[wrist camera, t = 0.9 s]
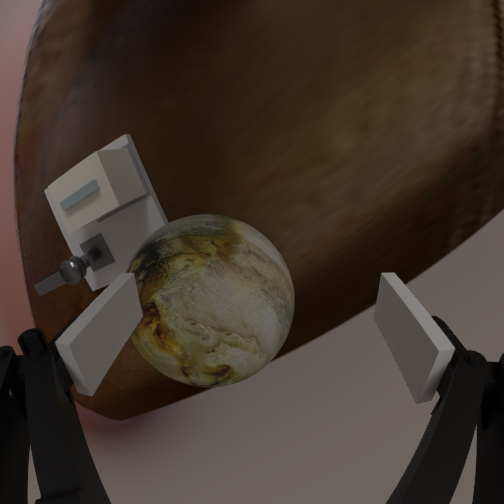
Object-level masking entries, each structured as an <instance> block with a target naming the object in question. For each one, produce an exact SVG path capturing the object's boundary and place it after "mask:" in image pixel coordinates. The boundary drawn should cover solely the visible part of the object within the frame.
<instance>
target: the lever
mask: <svg viewBox="0 0 504 504" xmlns="http://www.w3.org/2000/svg"><path fill="white" fill-rule="evenodd" d="M100 257H101V253H100V251H99V249H97V248H92V249H91V250H89V251H88V252H86V253H85V254H83V255H82V256H81V257H77V256H71V257H70V258H68V259H67V260H65V261H64V262H62V263H61V265H60V269H59V270H57V271H55V272H53V273H52V274H50V275H48V276H46V277H45V278H43V279H41V280H40V281H38V282H37V283H36V284H34V287H35V289H36V291H37V293H38V294H39V296H41V295H43V294H45V293H47V292H49V291H51V290H53V289H55V288H57V287H59V286H61V285H63V284H65V283H67V284H69V285H72V286H74V285H76V284H78V283H79V282H80V281H81V280H82V279H84V278H85V276H86V274H87V268H88V267H90V266H91V265H92V264H93V263H95V262H96V261H97V260H98V259H100Z"/></svg>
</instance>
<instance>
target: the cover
mask: <svg viewBox="0 0 504 504" xmlns="http://www.w3.org/2000/svg"><path fill="white" fill-rule="evenodd" d="M48 188H49V190H50V193H51V195H52V198H53V200H54V202H55V205H56V207H57V210H58V212H59V214H60V216H61V219H62V221H63V223H64V225H65V228H66V230H67V232H68V234H69V235H70V234H72V233H74V232H75V231H77V230H79V229H81V228H83V227H85V226H86V225H88V224H90V223H92V222H94V221H96V220H98V219H100V218H101V217H103V216H105V215H107V214H109V213H110V212H112V211H114V210H116V209H118V208H119V207H121V206H123V205H125V204H127V203H129V202H131V201H133V200H135V199H136V198H138V197H140V196H142V195H144V194H146V192H145V189H144V187H143V185H142V183H141V180H140V178H139V176H138V174H137V171H136V169H135V167H134V164H133V162H132V159H131V157H130V155H129V152H128V150H127V148H124V149H113V150H102V151H96V152H94V153H93V154H91V155H90V156H89V157H87V158H86V159H84V160H83V161H81V162H80V163H79V164H77V165H76V166H74V167H73V168H72V169H70V170H69V171H68V172H66V173H65V174H64V175H62V176H61V177H60V178H58V179H57V180H56V181H54V182H53V183H52V184H51V185H49V186H48Z"/></svg>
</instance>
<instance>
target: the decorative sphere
mask: <svg viewBox="0 0 504 504" xmlns="http://www.w3.org/2000/svg"><path fill="white" fill-rule="evenodd" d="M126 273H134V275H135V281H136V286H137V291H138V296H139V301H140V305H141V310H142V314H143V317H142V319H141V320H140V322H139V323H138V325H137V326H136V328H135V329H134V331H133V332H132V334H131V335H130V338H131V340H132V342H133V344H134V346H135V347H136V349H137V350H138V351H139V353H140V354H141V355H142V357H143V358H144V359H145V360H146V361H147V362H148V363H149V364H150V365H151V366H152V367H154V368H155V369H156V370H158V371H159V372H160V373H162V374H164V375H165V376H167V377H169V378H171V379H173V380H175V381H178V382H181V383H184V384H187V385H192V386H198V387H220V386H226V385H230V384H234V383H237V382H240V381H242V380H245V379H247V378H249V377H250V376H252V375H254V374H256V373H257V372H258V371H260V370H261V369H262V368H264V367H265V366H266V365H267V364H268V363H269V362H270V361H271V360H272V359H273V358H274V357H275V355H276V354H277V353H278V352H279V350H280V349H281V347H282V345H283V343H284V342H285V340H286V338H287V335H288V333H289V330H290V327H291V324H292V320H293V314H294V289H293V284H292V280H291V276H290V273H289V270H288V268H287V265H286V263H285V261H284V260H283V258H282V256H281V255H280V253H279V252H278V250H277V249H276V247H275V246H274V245H273V244H272V243H271V242H270V241H269V240H268V239H267V238H266V237H265V236H264V235H263V234H261V233H260V232H259V231H257V230H256V229H255V228H253V227H251V226H250V225H248V224H246V223H244V222H242V221H239V220H237V219H234V218H230V217H227V216H221V215H212V214H199V215H192V216H187V217H183V218H180V219H178V220H175V221H172V222H170V223H168V224H166V225H164V226H163V227H161V228H160V229H158V230H157V231H155V232H154V233H153V234H152V235H150V236H149V237H148V238H147V239H146V240H145V241H144V242H143V243H142V245H141V246H140V247H139V248H138V250H137V251H136V253H135V254H134V256H133V258H132V259H131V261H130V263H129V266H128V268H127V271H126Z"/></svg>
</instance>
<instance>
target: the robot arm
mask: <svg viewBox="0 0 504 504" xmlns="http://www.w3.org/2000/svg"><path fill="white" fill-rule="evenodd" d="M142 317H143V314H142V310H141V305H140V301H139V296H138V291H137V286H136V281H135V275H134V273H121V274H120V275H119V276H118V277H117V278H116V279H115V280H114V281H113V282H112V283H111V284H110V285H109V286H108V287H107V288H106V289H105V290H104V291H103V292H102V293H101V294H100V295H99V296H98V297H97V298H96V299H95V300H94V301H93V302H92V303H91V304H90V305H89V306H88V307H87V308H86V309H85V310H84V312H83V313H82V314H79V315H77V316H75V317H74V318H72V319H71V320H70V321H69V322H68V323H67V324H66V326H64V327H63V328H62V329H61V331H59V333H58V334H57V335H56V336H55V337H54V338H53V339H52V340H51V341H50V342H49V343H48V342H47V340H46V337H45V335H44V332H43V330H42V329H40V328H32V329H29V330H26V331H25V332H23V333H22V334H21V335H20V336H19V337H18V340H17V341H18V343H19V345H20V348H21V350H22V352H23V354H24V355H16V354H15V352H14V350H13V347H11V346H2V347H0V504H28V501H27V500H28V497H27V496H28V494H27V492H28V486H27V485H28V464H29V450H30V444H31V450H32V456H33V462H34V467H35V472H36V476H37V480H38V485H39V489H40V493H41V498H40V499H37V500H36V501H35V504H111V502H110V500H109V498H108V496H107V493H106V491H105V489H104V487H103V485H102V482H101V480H100V477H99V475H98V472H97V470H96V467H95V465H94V462H93V459H92V457H91V454H90V451H89V448H88V446H87V443H86V440H85V437H84V433H83V430H82V427H81V424H80V420H79V417H78V413H77V410H76V406H75V402H74V398H73V394H72V392H71V391H70V387H71V386H72V384H73V383H74V385H75V387H76V389H77V391H78V393H81V394H85V395H89V396H93V394H94V393H95V391H96V389H97V388H98V386H99V384H100V383H101V381H102V379H103V378H104V376H105V375H106V373H107V371H108V370H109V368H110V366H111V365H112V363H113V362H114V360H115V359H116V357H117V355H118V354H119V352H120V351H121V349H122V348H123V346H124V344H125V343H126V341H127V340H128V338H129V337H130V335H131V334H132V332H133V331H134V329H135V328H136V326H137V325H138V323H139V322H140V320H141V319H142ZM374 320H375V322H376V324H377V325H378V327H379V329H380V331H381V333H382V335H383V337H384V339H385V341H386V343H387V345H388V347H389V349H390V350H391V353H392V354H393V357H394V359H395V361H396V363H397V365H398V367H399V369H400V371H401V373H402V375H403V377H404V379H405V381H406V383H407V386H408V388H409V390H410V392H411V394H412V396H413V398H414V401H415V403H416V404H418V403H423V402H427V401H431V400H432V398H433V396H434V394H435V392H436V390H437V392H438V393H439V395H440V398H439V400H438V402H437V404H436V405H435V407H434V409H433V411H432V413H431V415H432V417H431V419H430V422H429V424H428V426H427V428H426V431H425V433H424V435H423V437H422V439H421V442H420V444H419V446H418V448H417V450H416V452H415V454H414V456H413V458H412V460H411V462H410V464H409V465H408V467H407V469H406V471H405V473H404V475H403V476H402V478H401V480H400V481H399V483H398V485H397V487H396V488H395V490H394V491H393V493H392V495H391V496H390V498H389V500H388V501H387V503H386V504H449V503H450V501H451V499H452V496H453V494H454V492H455V489H456V486H457V484H458V481H459V479H460V476H461V473H462V471H463V468H464V464H465V462H466V459H467V456H468V452H469V449H470V446H471V442H472V439H473V435H474V431H475V428H476V424H477V457H476V474H475V485H474V495H473V502H472V504H504V353H503V354H502V356H501V358H500V360H499V362H487V361H486V359H485V357H484V356H483V355H481V354H480V353H478V352H476V351H471V350H466V349H465V348H464V346H463V345H462V344H461V342H460V341H459V340H458V338H457V337H456V336H455V335H454V334H453V332H452V331H451V330H450V329H449V327H448V326H447V325H446V323H445V322H444V321H442V320H441V319H440V318H438V317H436V316H430V315H429V314H428V313H427V311H426V310H425V309H424V308H423V306H422V305H421V304H420V303H419V301H418V300H417V299H416V298H415V297H414V296H413V294H412V293H411V292H410V291H409V290H408V288H407V287H406V286H405V285H404V284H403V282H402V281H401V280H400V279H399V278H398V277H397V275H396V274H395V273H381V279H380V285H379V291H378V297H377V302H376V307H375V313H374ZM9 391H10V393H11V395H10V394H9Z"/></svg>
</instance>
